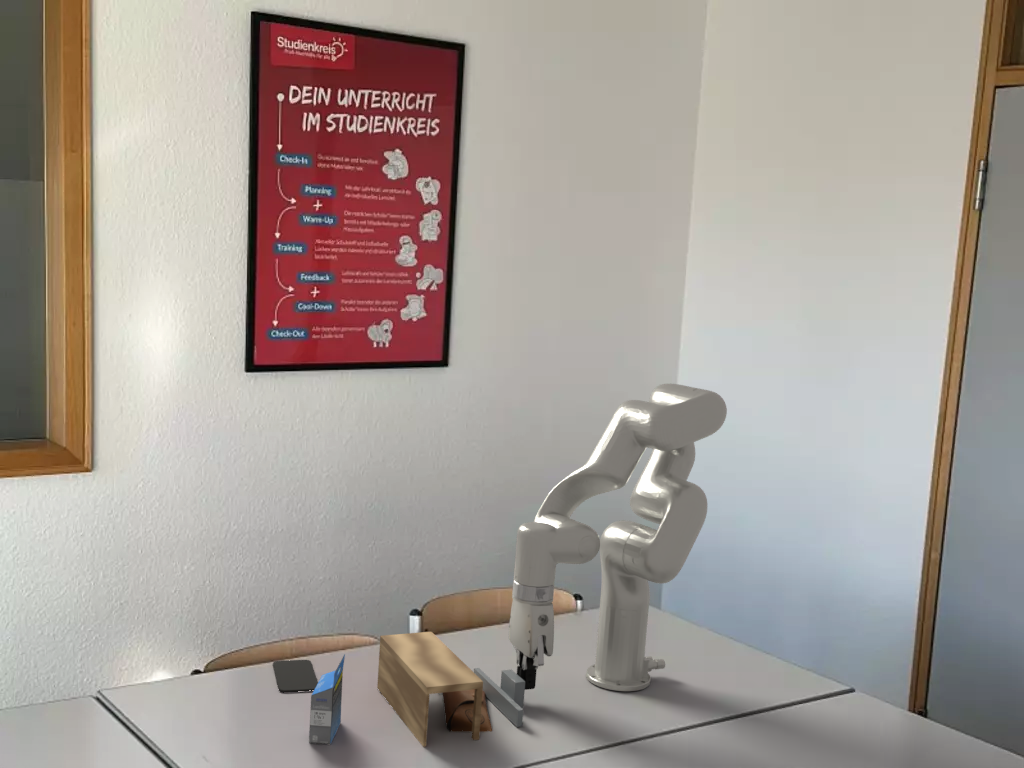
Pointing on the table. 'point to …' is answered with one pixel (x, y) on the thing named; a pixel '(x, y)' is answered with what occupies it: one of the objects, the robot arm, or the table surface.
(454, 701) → the sunglasses case
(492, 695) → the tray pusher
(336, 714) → the blue cardboard box
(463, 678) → the oak counter
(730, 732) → the table surface
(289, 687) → the phone
